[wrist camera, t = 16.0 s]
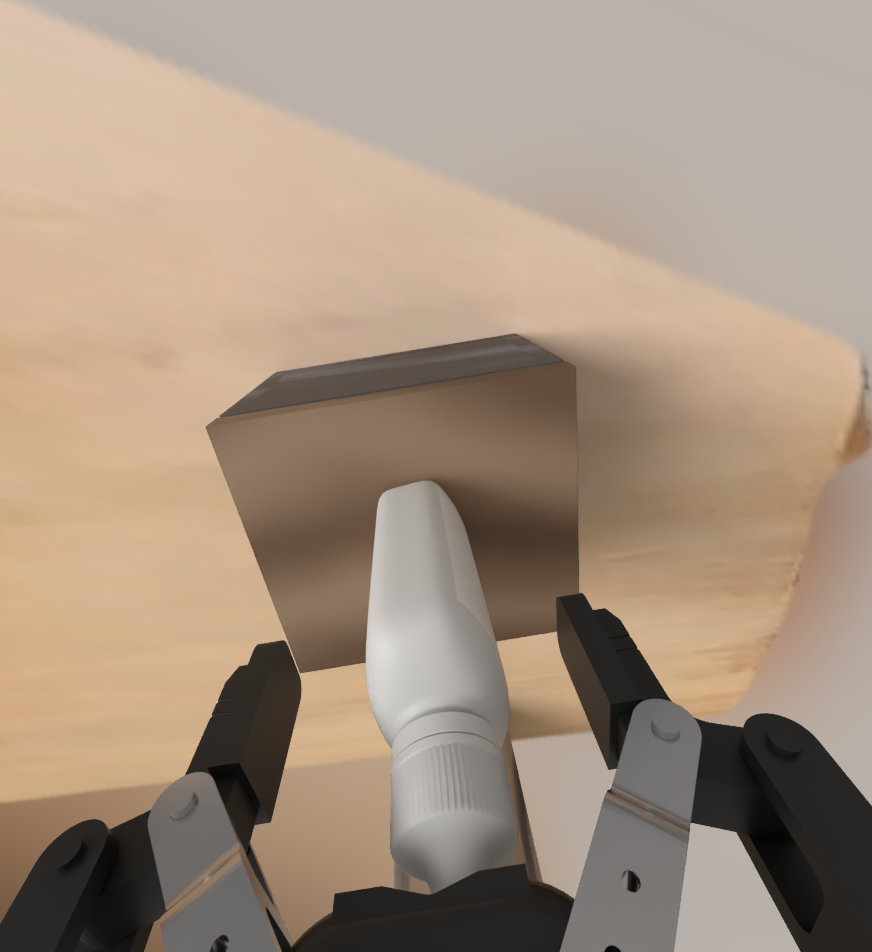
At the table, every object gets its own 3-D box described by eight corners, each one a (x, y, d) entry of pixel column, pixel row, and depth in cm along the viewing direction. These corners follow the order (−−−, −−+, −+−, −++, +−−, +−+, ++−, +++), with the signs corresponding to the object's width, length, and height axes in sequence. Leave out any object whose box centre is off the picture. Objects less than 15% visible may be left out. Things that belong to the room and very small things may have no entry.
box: (528, 524, 29) (570, 608, 22) (330, 556, 29) (305, 651, 22) (515, 333, 24) (563, 360, 17) (275, 372, 24) (219, 415, 17)
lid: (572, 612, 21) (579, 627, 20) (304, 656, 21) (300, 673, 20) (566, 361, 16) (575, 366, 15) (216, 418, 16) (205, 426, 15)
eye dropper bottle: (497, 489, 17) (668, 857, 6) (457, 603, 19) (534, 1026, 8) (385, 466, 16) (362, 839, 6) (357, 587, 19) (300, 1029, 8)
